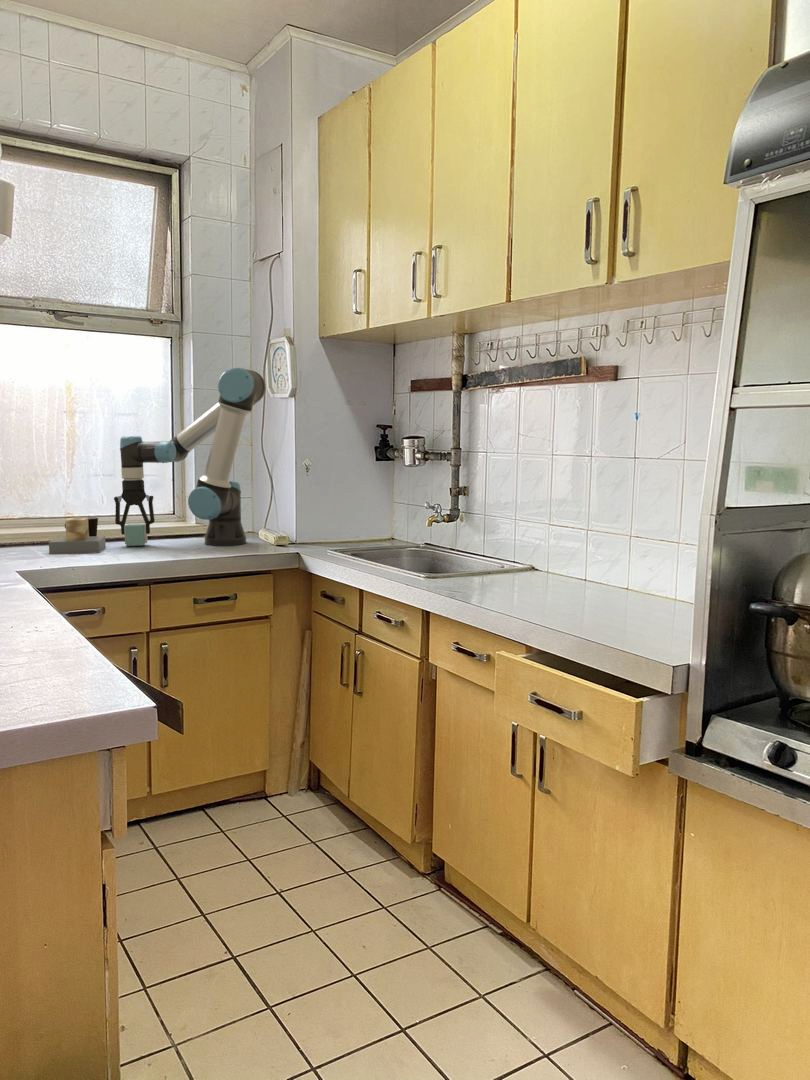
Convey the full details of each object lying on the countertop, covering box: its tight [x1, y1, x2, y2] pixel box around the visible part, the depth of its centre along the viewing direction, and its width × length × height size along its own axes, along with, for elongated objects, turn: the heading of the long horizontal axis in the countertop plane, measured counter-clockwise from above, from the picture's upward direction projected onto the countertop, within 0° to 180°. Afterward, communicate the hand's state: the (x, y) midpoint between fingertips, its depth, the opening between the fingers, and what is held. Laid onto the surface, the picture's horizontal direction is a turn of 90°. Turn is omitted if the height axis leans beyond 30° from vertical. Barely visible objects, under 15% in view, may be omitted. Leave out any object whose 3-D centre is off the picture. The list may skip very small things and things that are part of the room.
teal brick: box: [125, 523, 146, 547], centre depth 299 cm, size 6×8×7 cm
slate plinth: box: [48, 535, 107, 555], centre depth 287 cm, size 16×14×4 cm
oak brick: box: [64, 517, 89, 541], centre depth 286 cm, size 6×8×7 cm
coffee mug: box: [64, 516, 99, 536], centre depth 300 cm, size 12×9×10 cm
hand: (136, 543), depth 299 cm, fingers closed on teal brick, 6 cm apart
